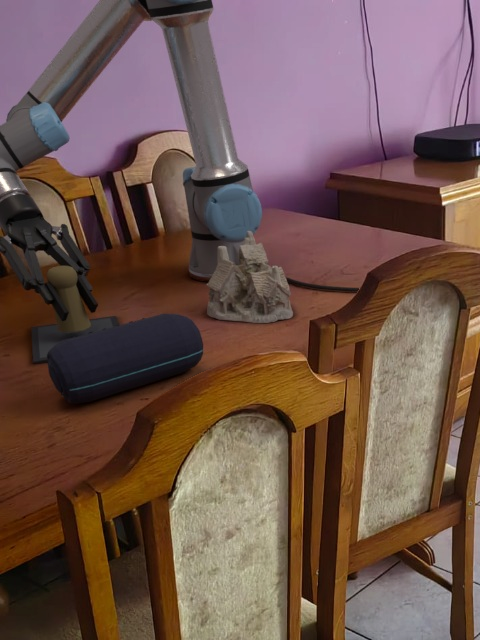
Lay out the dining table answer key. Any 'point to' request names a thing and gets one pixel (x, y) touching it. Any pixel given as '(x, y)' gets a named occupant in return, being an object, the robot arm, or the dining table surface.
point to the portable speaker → (124, 357)
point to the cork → (68, 299)
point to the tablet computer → (62, 336)
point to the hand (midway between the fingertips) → (80, 312)
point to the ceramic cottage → (248, 287)
